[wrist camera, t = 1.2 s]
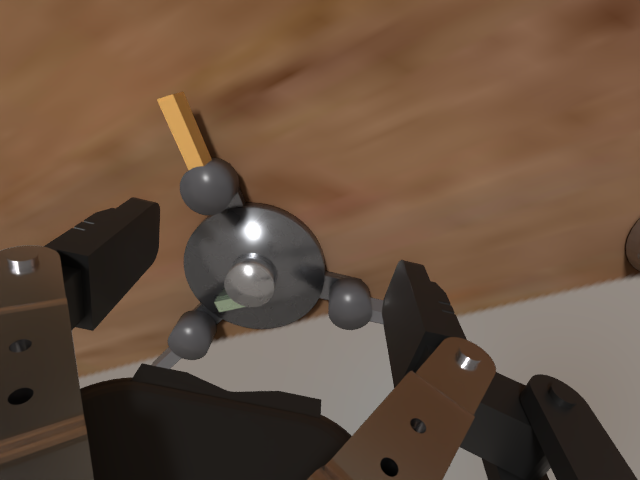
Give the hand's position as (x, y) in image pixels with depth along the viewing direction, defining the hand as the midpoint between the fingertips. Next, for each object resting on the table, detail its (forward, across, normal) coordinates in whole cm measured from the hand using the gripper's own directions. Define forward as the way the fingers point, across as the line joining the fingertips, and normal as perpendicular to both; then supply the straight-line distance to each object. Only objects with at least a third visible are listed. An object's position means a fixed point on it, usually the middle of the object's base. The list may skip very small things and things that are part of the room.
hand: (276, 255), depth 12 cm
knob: (+22, +10, +27) cm, 37 cm away
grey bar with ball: (+22, -10, +16) cm, 29 cm away
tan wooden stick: (+22, +10, +4) cm, 25 cm away
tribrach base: (+24, +4, +14) cm, 28 cm away
